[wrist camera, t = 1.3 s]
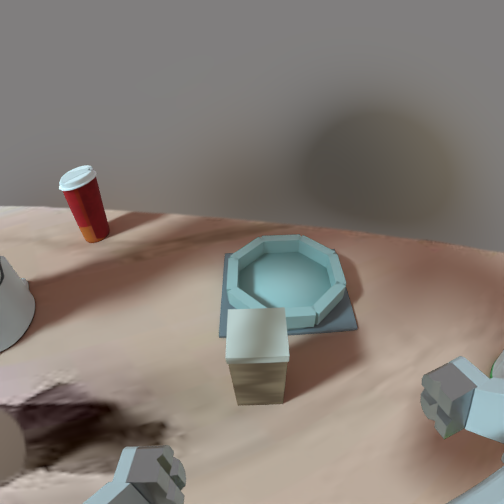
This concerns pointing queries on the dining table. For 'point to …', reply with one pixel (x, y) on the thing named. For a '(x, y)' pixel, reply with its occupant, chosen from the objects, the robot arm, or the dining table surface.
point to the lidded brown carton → (257, 354)
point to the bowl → (286, 278)
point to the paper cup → (85, 202)
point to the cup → (498, 367)
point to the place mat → (333, 322)
